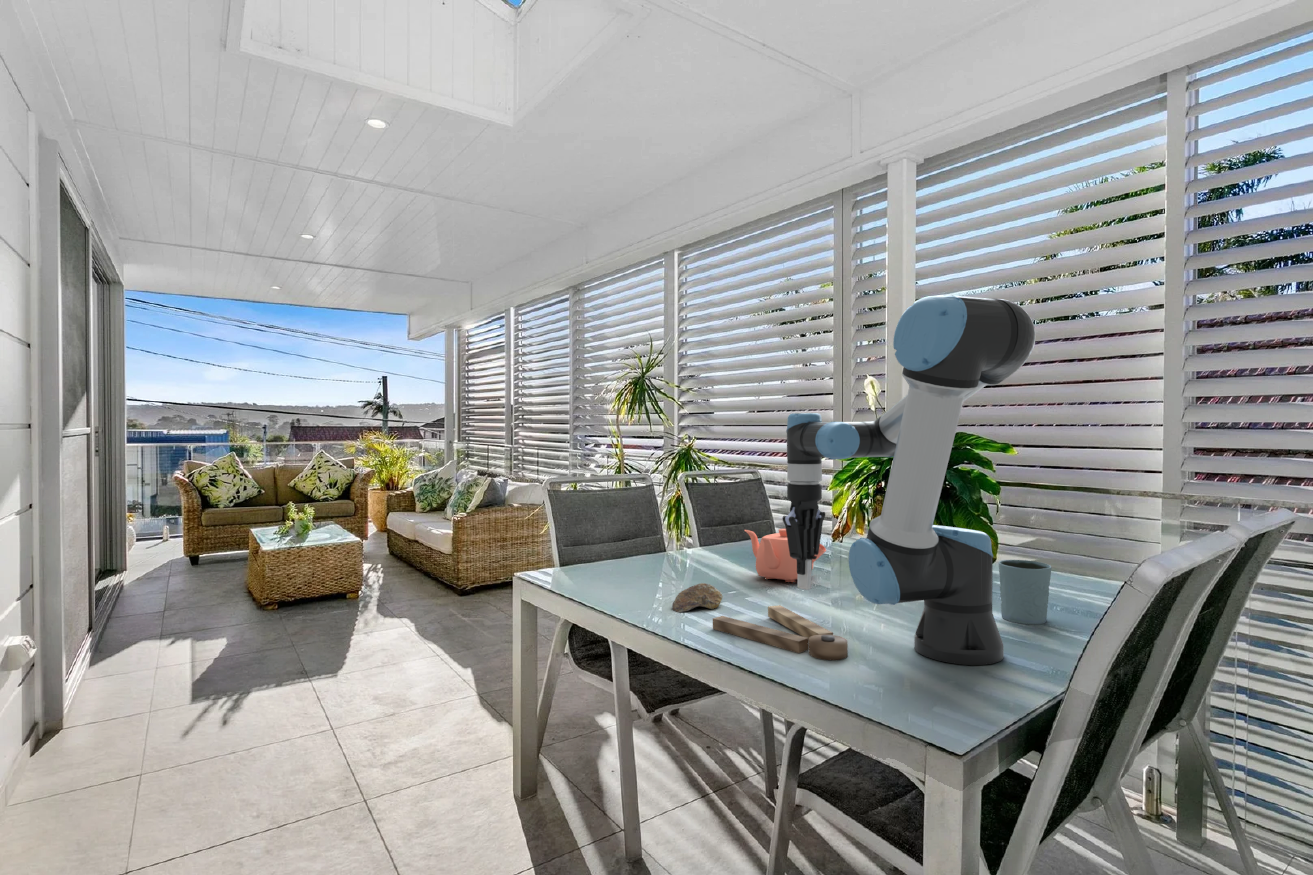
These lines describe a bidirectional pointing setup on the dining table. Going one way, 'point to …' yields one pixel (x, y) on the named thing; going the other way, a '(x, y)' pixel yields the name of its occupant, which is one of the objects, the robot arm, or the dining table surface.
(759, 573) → the teapot
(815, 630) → the tongs swing jaw
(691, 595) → the brown rock
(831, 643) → the bar
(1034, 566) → the pale blue plant pot
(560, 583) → the dining table surface
